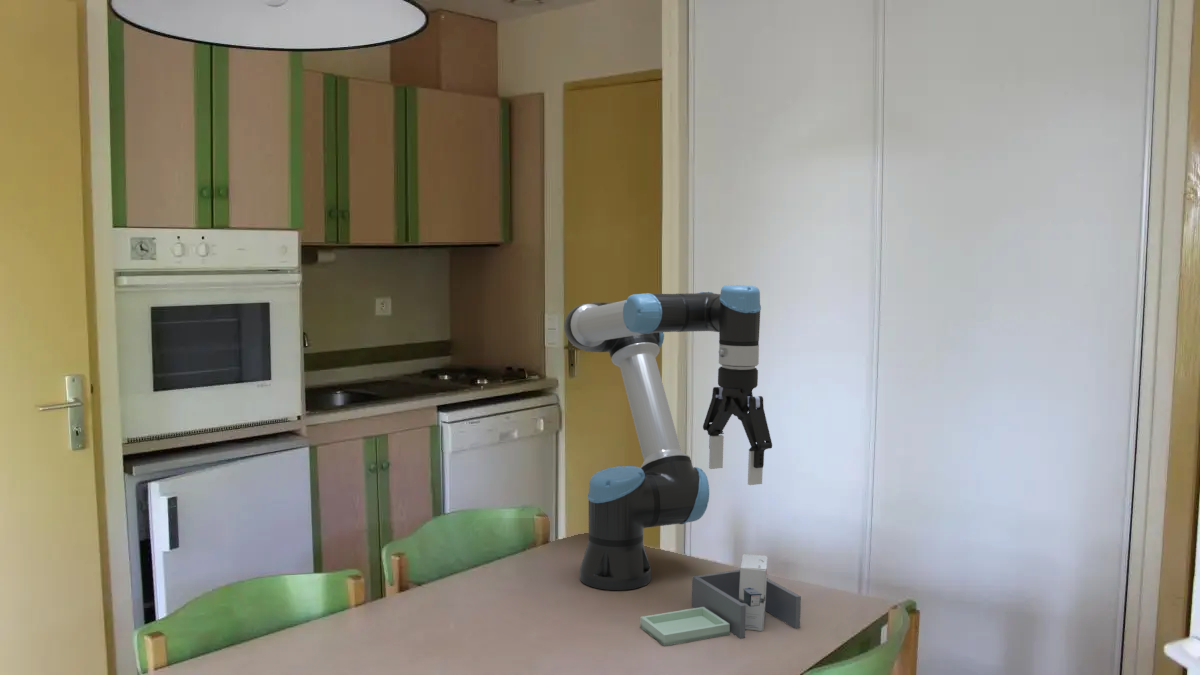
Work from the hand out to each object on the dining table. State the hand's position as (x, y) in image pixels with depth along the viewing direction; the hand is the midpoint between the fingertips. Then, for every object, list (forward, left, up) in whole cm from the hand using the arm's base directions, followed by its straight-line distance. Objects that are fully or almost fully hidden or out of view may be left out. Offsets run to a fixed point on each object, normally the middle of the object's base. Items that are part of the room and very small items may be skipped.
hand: (734, 476), depth 184 cm
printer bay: (+5, 0, -26) cm, 27 cm away
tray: (+6, -14, -26) cm, 30 cm away
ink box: (+7, 0, -27) cm, 28 cm away
